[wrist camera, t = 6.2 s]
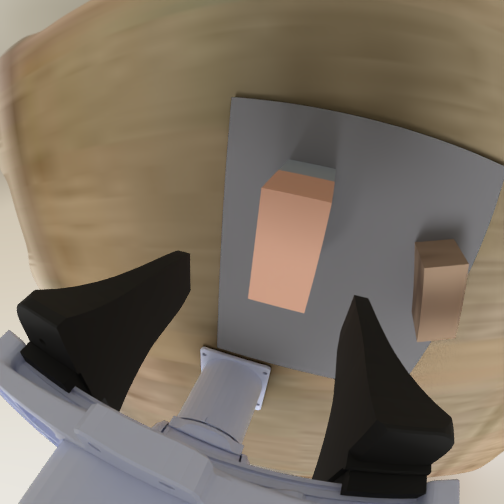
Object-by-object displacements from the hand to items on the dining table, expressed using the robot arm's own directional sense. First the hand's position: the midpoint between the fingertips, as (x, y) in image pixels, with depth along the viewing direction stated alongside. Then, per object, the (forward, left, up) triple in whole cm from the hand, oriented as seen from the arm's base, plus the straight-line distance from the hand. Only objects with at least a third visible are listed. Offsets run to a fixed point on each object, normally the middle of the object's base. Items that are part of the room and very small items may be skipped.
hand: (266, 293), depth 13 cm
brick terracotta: (0, 0, -6) cm, 6 cm away
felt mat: (-5, -4, -10) cm, 12 cm away
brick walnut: (-3, -11, -10) cm, 15 cm away
